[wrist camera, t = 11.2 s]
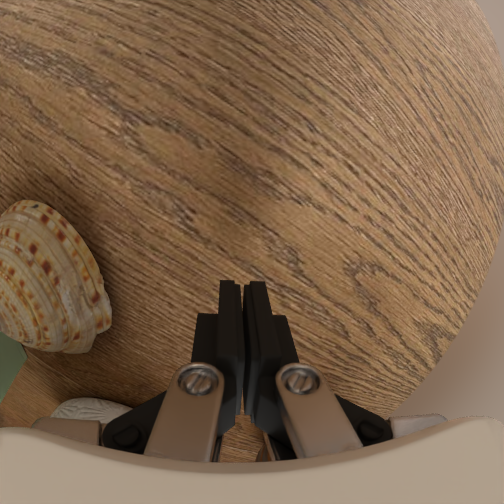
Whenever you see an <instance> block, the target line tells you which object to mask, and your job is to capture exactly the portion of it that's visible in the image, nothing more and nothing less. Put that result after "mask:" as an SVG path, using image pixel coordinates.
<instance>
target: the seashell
mask: <svg viewBox="0 0 504 504" xmlns="http://www.w3.org/2000/svg"><path fill="white" fill-rule="evenodd" d="M102 278H103V276H102V275H101V274H100V271H99V267H98V265H97V263H96V261H95V259H94V257H93V255H92V253H91V251H90V250H89V248H88V247H87V245H86V244H85V242H84V241H83V239H82V238H81V236H80V235H79V234H78V232H77V231H76V230H75V229H74V228H73V227H72V226H71V224H70V223H69V222H68V221H67V220H66V219H65V218H64V217H63V216H61V215H60V214H59V213H58V212H57V211H55V210H54V209H52V208H51V207H49V206H48V205H46V204H43V203H41V202H38V201H34V200H21V201H18V202H16V203H14V204H12V205H11V206H10V207H9V208H8V209H7V210H6V211H5V212H4V213H3V214H2V215H1V216H0V331H1V332H3V333H4V334H6V335H7V336H9V337H10V338H12V339H14V340H16V341H17V342H19V343H21V344H23V345H25V346H28V347H31V348H35V349H37V350H41V351H47V352H54V351H58V352H62V353H71V354H78V353H86V352H88V351H89V350H90V349H91V348H92V344H93V342H94V339H95V336H96V335H97V334H98V333H102V332H104V331H106V330H107V329H108V328H109V327H110V326H111V320H112V308H111V306H110V299H109V297H108V295H107V293H106V291H105V290H104V280H103V279H102ZM101 283H102V284H101Z"/></svg>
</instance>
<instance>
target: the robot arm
mask: <svg viewBox="0 0 504 504" xmlns="http://www.w3.org/2000/svg"><path fill="white" fill-rule="evenodd" d="M242 388H243V400H244V413H245V415H250V417H251V423H254V424H255V426H257V427H258V428H260V429H261V430H263V435H264V439H265V442H266V446H267V449H268V452H269V455H270V458H271V462H251V463H219V462H220V456H221V450H222V445H223V439H224V433H225V432H227V431H228V430H229V429H230V428H232V427H233V426H234V425H235V415H240V409H241V398H242ZM0 504H504V426H503V424H502V423H501V422H499V421H498V420H496V419H494V418H491V417H484V416H470V417H462V418H457V419H453V420H449V421H448V420H447V419H446V418H445V417H444V416H442V415H439V414H426V415H416V416H401V417H389V419H388V420H384V419H383V418H381V417H380V416H378V415H376V414H374V413H372V412H370V411H368V410H366V409H364V408H361V407H359V406H357V405H355V404H353V403H351V402H349V401H347V400H345V399H343V398H341V397H340V396H338V395H336V394H334V393H333V391H332V389H331V388H330V386H329V384H328V382H327V381H326V379H325V377H324V375H323V374H322V373H321V372H320V370H318V369H317V368H315V367H314V366H311V365H309V364H306V363H299V359H298V356H297V352H296V349H295V345H294V342H293V338H292V335H291V332H290V328H289V325H288V321H287V318H286V316H285V315H272V310H271V306H270V302H269V297H268V293H267V289H266V284H265V282H261V281H250V285H244V294H243V308H242V304H241V291H240V285H238V284H235V282H234V281H232V280H220V290H219V309H218V314H208V313H198V316H197V323H196V329H195V336H194V343H193V351H192V358H191V363H188V364H185V365H183V366H181V367H180V368H178V369H177V370H176V372H175V373H174V375H173V377H172V379H171V382H170V384H169V387H168V390H166V391H164V392H163V393H161V394H159V395H157V396H156V397H154V398H152V399H150V400H148V401H147V402H145V403H143V404H141V405H139V406H137V407H136V408H134V409H132V410H130V411H128V412H126V413H124V414H122V415H120V416H119V417H117V418H115V419H113V420H112V421H110V422H109V423H101V422H100V421H99V420H80V419H67V418H57V417H41V418H39V419H37V420H36V421H35V422H34V423H33V425H32V427H31V428H24V427H4V428H0Z"/></svg>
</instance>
